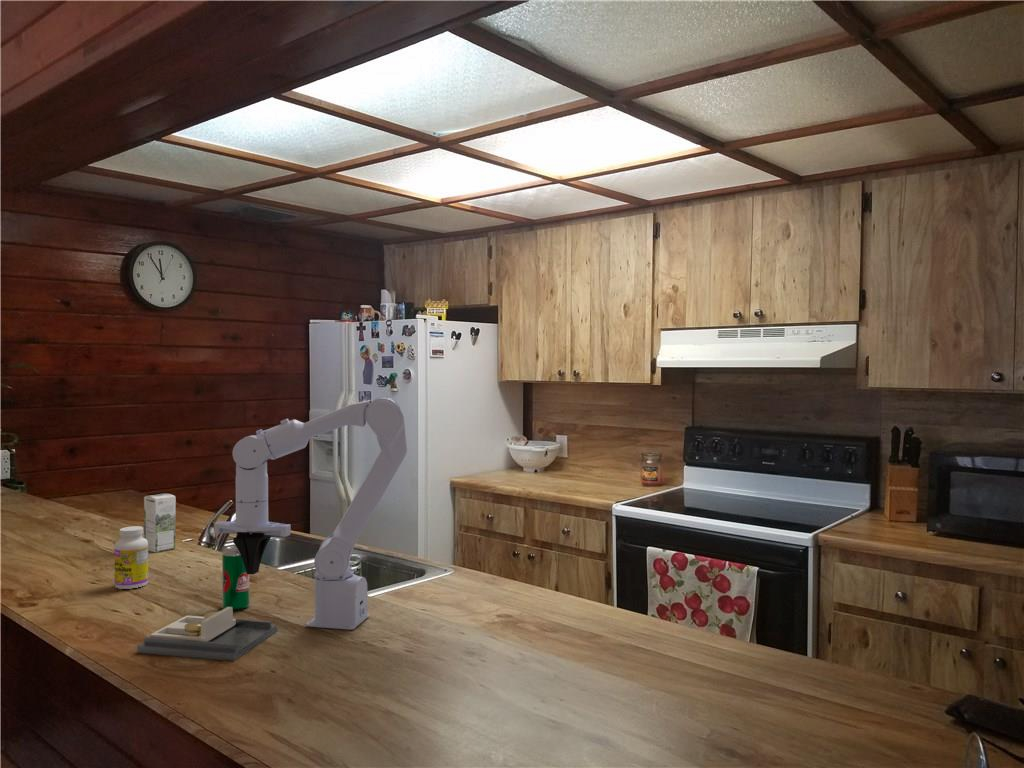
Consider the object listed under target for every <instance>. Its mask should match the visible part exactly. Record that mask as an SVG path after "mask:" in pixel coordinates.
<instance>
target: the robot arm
mask: <svg viewBox="0 0 1024 768" xmlns="http://www.w3.org/2000/svg"><path fill="white" fill-rule="evenodd" d="M366 424H367V425H368V426H369V427H370V429H371V430H372V432H373V433H374V434H375V436H376V439H377V442H378V446H379V448H380V452H379V454H378V456H377V457H376V459H375V461H374V462H373V464H372V466H371V467H370V469H369V471H368V473H367V474H366V477H364V480H363V482H362V483H361V485H360V486H359V488H358V490H357V491H356V493H355V495H354V496H353V499H352V501H351V502H350V504H349V506H348V508H346V511H345V513H344V514H343V516H342V517H341V520H340V521H339V523H338V524H337V526H336V528H335V529H334V531H333V532H332V533H331V534H330V535H328V536H327V537H326V538H325V539H323V540H322V542H321V544H320V545H319V550H318V551H317V552H316V554H315V557H314V568H315V572H314V617H313V618H312V619H310V620H309V621H307V622H306V623H305V626H306V627H310V628H322V629H323V628H324V629H337V630H348V631H349V630H355V629H356V628H357V627H358V626H359V625H360V624H362V622H364V621H365V620H366V619H367V618H369V617H370V614H369V613H368V610H369V609H368V582H367V579H366V577H364V576H359V575H357V574H354V569H353V568H352V567H351V565H350V560H351V557H352V556H353V549H354V548H355V545H356V544H357V542H358V539H359V538H360V537H361V536H360V535H361V534H362V532H363V531H364V528H365V527H366V525H367V524H368V522H369V520H370V518H371V516H372V515H373V514H374V511H375V510H376V507H377V506H378V505H379V502H381V501H380V500H381V499H382V497H383V496H384V494H385V492H386V491H387V489H388V487H389V486H390V483H391V482H392V480H393V478H394V477H395V475H396V473H397V472H398V469H399V468H400V466H401V464H402V462H403V461H404V459H405V458H406V456H407V452H408V448H407V438H406V437H407V436H406V435H407V434H406V426H405V417H404V414H403V412H402V410H401V407H400V405H399V403H398V402H397V401H396V400H395V399H394V398H392V397H390V396H378V397H376V398H375V399H373V400H371V399H369V400H364V401H359V402H355V403H351V404H348V405H346V406H343V407H341V408H338V409H336V410H333V411H331V412H328V413H326V414H323V415H321V416H318V417H316V418H313V419H312V420H309V421H306V422H302V421H301V420H300V421H299V420H297V419H294V418H293V419H291V420H289V418H286V419H282V420H280V424H277V425H275V426H273V427H272V426H271V427H270V428H268V429H264V430H263V429H257V430H256V431H255V434H256V435H255V434H254V435H253V434H251V435H248V436H245V437H243V438H241V439H240V440H239V441H237V442H236V444H235V445H234V447H233V449H232V458H233V461H234V462H235V520H233V521H232V520H231V521H225V520H224V521H222V520H220V521H218V522H215V523H214V524H213V527H214V528H213V530H214V531H213V532H214V533H213V534H216V535H217V534H233V535H234V534H236V535H235V537H233V538H232V541H233V544H234V545H235V546H236V547H237V549H238V550H239V552H240V554H241V557H242V559H243V562H244V566H245V570H246V574H249V575H255V574H257V573H259V570H260V565H261V562H262V558H263V555H264V552H265V550H266V548H267V545H268V543H269V542H270V539H271V538H272V536H277V537H278V536H280V537H281V538H282V537H283V538H286V537H288V536H291V530H292V529H291V524H290V523H289V524H288V523H287V524H286V523H280V522H272V521H269V475H268V462H267V461H268V460H276V459H279V458H282V457H284V456H286V455H289V454H292V453H295V452H297V451H300V450H303V449H305V448H306V447H307V445H308V443H309V440H310V439H311V438H314V437H317V436H319V435H322V434H326V433H329V432H332V431H334V430H337V429H339V428H343V427H345V426H348V425H351V426H358V427H363V428H364V427H365V426H366Z"/></svg>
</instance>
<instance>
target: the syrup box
mask: <svg viewBox="0 0 1024 768" xmlns="http://www.w3.org/2000/svg"><path fill="white" fill-rule="evenodd" d="M176 498H177V497H176V495H174V494H171V493H160V494H154V495H153V494H152V495H145V496H143V504H144V505H143V511H144V512H143V520H144V521H143V522H144V523H143V524H144V525H143V526H144V527H143V538H145V539H146V540H147V541H148V552H151V553H152V552H153V553H159V552H165V551H170V550H175V549H176V504H177V501H176Z"/></svg>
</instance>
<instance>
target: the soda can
mask: <svg viewBox="0 0 1024 768" xmlns="http://www.w3.org/2000/svg"><path fill="white" fill-rule="evenodd" d="M221 558H222V559H221V560H222V561H221V562H222V567H221V568H222V570H221V571H222V572H221V573H222V608H223V609H225V608H226V607H233V610H237V611H239V610H238V609H242V610H244V608H245V609H246V607H248V606H250V574H246V570H245V566H244V562H243V559H242V557H241V554H240V552H239V550H238V549H237V547H236V545H235V546H234V545H231V546H228V547H225V548H224V551H223V553H222V555H221Z"/></svg>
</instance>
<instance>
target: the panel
mask: <svg viewBox="0 0 1024 768" xmlns="http://www.w3.org/2000/svg"><path fill="white" fill-rule="evenodd" d="M218 611H219V610H218ZM233 615H234V611H233V607H226V608H225V609H224V608H223V609H221V610H220V611H219V612H217V613H215V614H214V615H212V616H210V617H208V618H206V619H204V616H203V617H200V616H201V615H200V616H199V615H189V616H187V615H185V616H183V617H181V618H179V619H177V620H175V621H173V622H172V623H170V624H167V625H166V626H163V627H162V628H160V629H158V630H156V631H154V632H152V633H150V635H149V637H157V638H170V639H183V640H195V641H209V640H211V639H213V638H214V637H216V636H218V635H219V634H221V633H223V632H224V631H226V630H228V629H229V628H231V627H233V626H234V625H236V619H237V618H234V616H233ZM191 622H201V635H200V636H187V635H189V633H188V632H186V631H185V625H186V624H188V623H191ZM166 633H171V634H166ZM174 634H184V635H174Z"/></svg>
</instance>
